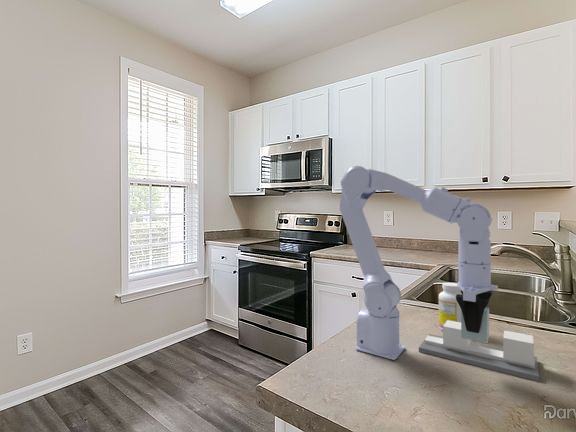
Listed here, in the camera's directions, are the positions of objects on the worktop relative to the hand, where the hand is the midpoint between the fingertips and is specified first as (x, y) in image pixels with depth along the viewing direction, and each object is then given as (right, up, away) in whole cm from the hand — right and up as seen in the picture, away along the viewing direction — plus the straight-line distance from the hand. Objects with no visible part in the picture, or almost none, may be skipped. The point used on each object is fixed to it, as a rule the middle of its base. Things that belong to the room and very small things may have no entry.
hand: (474, 328), depth 64 cm
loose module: (0, -2, 0) cm, 2 cm away
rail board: (+4, -9, +6) cm, 12 cm away
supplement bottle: (+7, -9, +22) cm, 25 cm away
